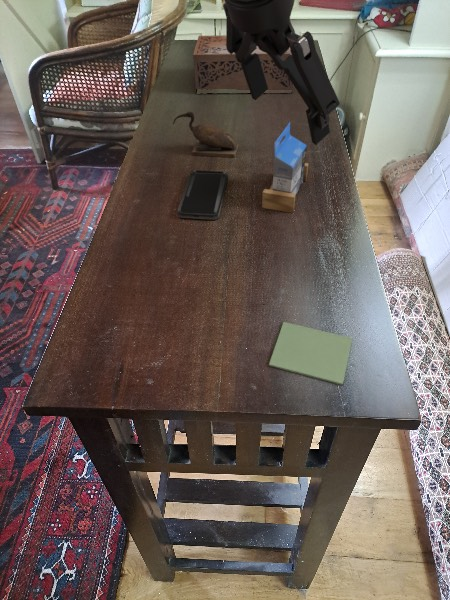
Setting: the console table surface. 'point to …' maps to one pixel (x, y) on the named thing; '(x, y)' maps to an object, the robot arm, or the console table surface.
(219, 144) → the figurine
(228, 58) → the tissue box cover
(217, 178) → the phone
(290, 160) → the blue grey carton
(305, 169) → the tape holder
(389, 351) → the console table surface
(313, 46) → the robot arm
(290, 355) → the felt pad
